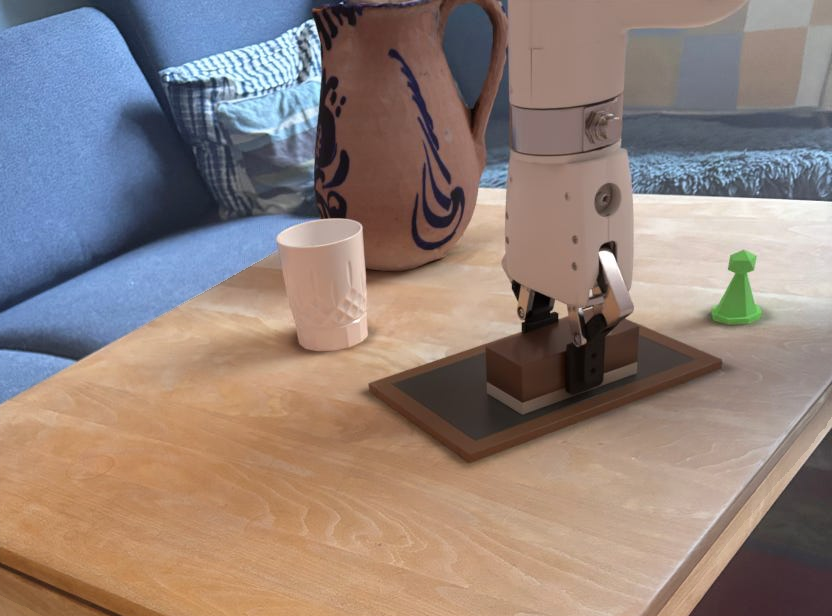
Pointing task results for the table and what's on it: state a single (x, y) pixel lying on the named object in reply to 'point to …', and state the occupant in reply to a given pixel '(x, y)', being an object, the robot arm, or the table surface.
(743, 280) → the game piece
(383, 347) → the table surface
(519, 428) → the slate board
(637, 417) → the table surface
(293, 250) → the white cup
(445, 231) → the ceramic pitcher
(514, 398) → the eraser
